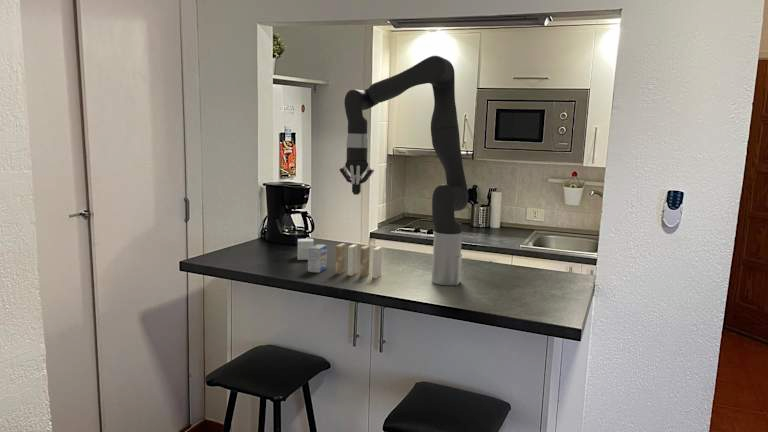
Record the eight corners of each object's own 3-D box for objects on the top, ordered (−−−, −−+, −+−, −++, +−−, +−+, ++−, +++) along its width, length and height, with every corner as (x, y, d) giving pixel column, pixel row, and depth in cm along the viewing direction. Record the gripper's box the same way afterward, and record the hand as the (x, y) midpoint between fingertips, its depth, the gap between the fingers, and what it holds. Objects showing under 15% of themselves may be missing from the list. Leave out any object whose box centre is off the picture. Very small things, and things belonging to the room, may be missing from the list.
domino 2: (356, 272, 207) (357, 244, 206) (351, 275, 203) (352, 247, 201) (352, 272, 208) (353, 244, 206) (347, 275, 203) (348, 246, 202)
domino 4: (381, 275, 205) (382, 246, 203) (376, 278, 200) (377, 249, 199) (376, 274, 205) (377, 246, 204) (372, 277, 200) (373, 249, 199)
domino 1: (344, 271, 209) (345, 243, 207) (339, 274, 204) (340, 246, 202) (340, 270, 209) (341, 243, 208) (335, 273, 204) (336, 245, 203)
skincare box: (313, 260, 225) (313, 241, 224) (297, 260, 224) (297, 241, 223) (312, 256, 231) (313, 238, 230) (297, 256, 230) (297, 238, 229)
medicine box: (319, 273, 205) (320, 248, 203) (307, 272, 206) (308, 247, 204) (327, 268, 212) (327, 244, 211) (315, 267, 213) (315, 243, 212)
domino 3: (368, 273, 206) (369, 245, 205) (364, 276, 201) (365, 248, 200) (364, 273, 206) (365, 245, 205) (359, 276, 202) (360, 247, 200)
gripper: (377, 147, 213) (376, 194, 215) (343, 145, 216) (342, 192, 219) (371, 147, 206) (370, 196, 208) (336, 146, 209) (335, 194, 212)
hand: (356, 194), depth 213 cm, fingers closed
